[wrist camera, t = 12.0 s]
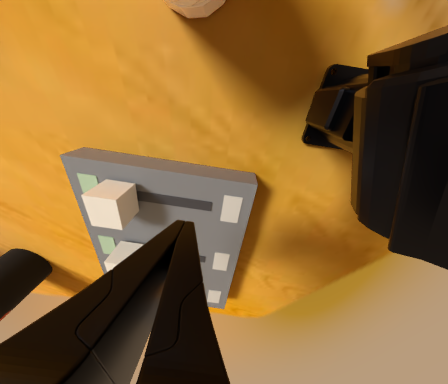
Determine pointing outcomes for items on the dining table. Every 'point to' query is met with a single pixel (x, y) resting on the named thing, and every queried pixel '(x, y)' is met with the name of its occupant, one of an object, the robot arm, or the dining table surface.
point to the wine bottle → (19, 277)
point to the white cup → (194, 7)
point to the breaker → (111, 204)
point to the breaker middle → (120, 253)
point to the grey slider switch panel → (172, 207)
